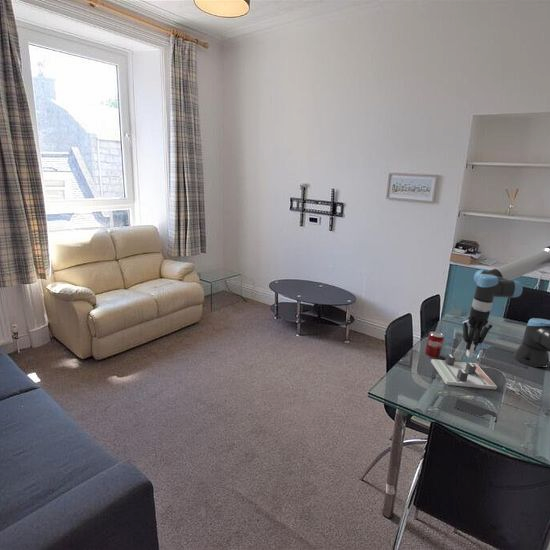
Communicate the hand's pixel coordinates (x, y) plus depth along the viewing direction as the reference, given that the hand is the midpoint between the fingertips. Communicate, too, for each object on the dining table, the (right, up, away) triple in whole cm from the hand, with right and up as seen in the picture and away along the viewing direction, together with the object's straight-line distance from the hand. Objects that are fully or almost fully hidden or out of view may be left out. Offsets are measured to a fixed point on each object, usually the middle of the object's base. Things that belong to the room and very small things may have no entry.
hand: (468, 355), depth 172 cm
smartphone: (-10, -17, -23) cm, 30 cm away
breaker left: (-5, -6, +9) cm, 12 cm away
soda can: (-9, -4, +19) cm, 22 cm away
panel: (-2, -10, +3) cm, 10 cm away
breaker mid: (+2, -8, +2) cm, 9 cm away
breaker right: (-6, -10, -4) cm, 12 cm away
